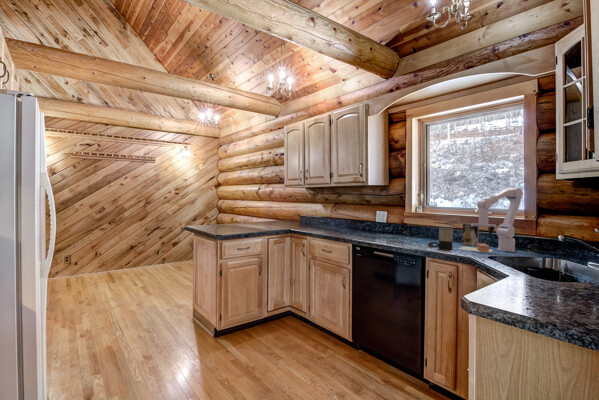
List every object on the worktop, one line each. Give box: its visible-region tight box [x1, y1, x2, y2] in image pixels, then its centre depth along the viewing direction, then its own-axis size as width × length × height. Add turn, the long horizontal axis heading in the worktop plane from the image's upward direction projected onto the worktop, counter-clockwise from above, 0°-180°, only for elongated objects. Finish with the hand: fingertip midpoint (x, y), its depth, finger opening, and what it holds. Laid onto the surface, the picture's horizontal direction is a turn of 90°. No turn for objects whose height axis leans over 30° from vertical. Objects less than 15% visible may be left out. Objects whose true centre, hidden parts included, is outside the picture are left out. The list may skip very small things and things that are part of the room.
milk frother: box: [427, 227, 454, 251], centre depth 215 cm, size 14×16×15 cm
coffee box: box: [461, 223, 480, 247], centre depth 232 cm, size 9×6×16 cm
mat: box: [458, 246, 494, 254], centre depth 211 cm, size 19×15×1 cm
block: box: [476, 242, 490, 253], centre depth 207 cm, size 9×5×4 cm, turn 163°
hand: (483, 237), depth 207 cm, fingers open, 7 cm apart
